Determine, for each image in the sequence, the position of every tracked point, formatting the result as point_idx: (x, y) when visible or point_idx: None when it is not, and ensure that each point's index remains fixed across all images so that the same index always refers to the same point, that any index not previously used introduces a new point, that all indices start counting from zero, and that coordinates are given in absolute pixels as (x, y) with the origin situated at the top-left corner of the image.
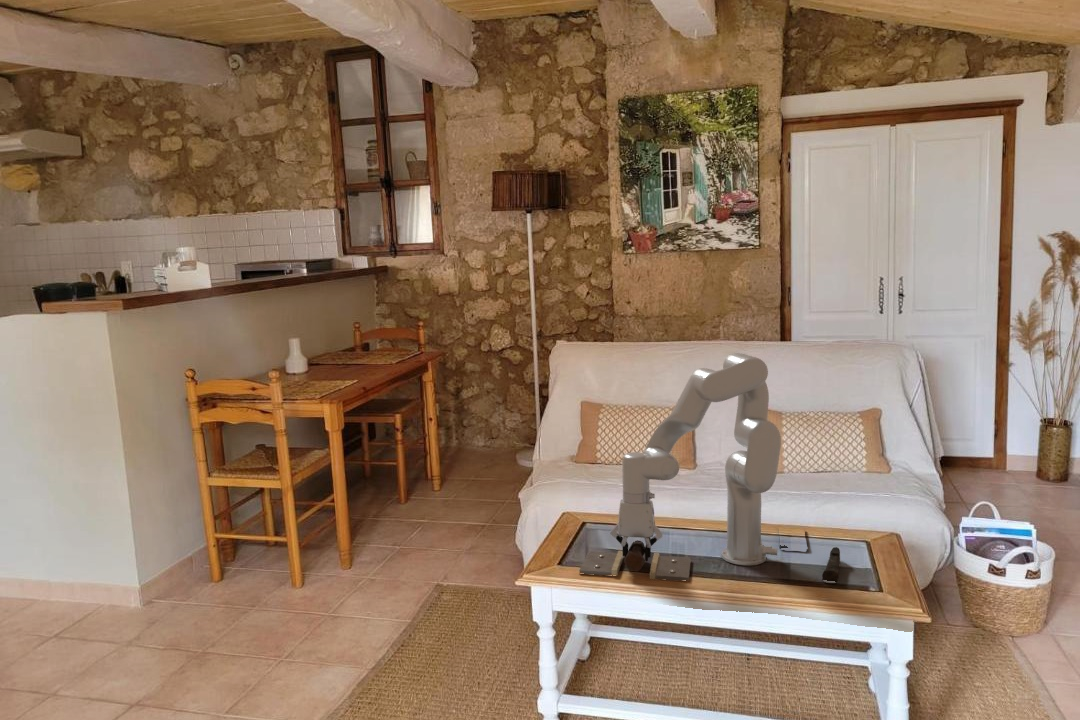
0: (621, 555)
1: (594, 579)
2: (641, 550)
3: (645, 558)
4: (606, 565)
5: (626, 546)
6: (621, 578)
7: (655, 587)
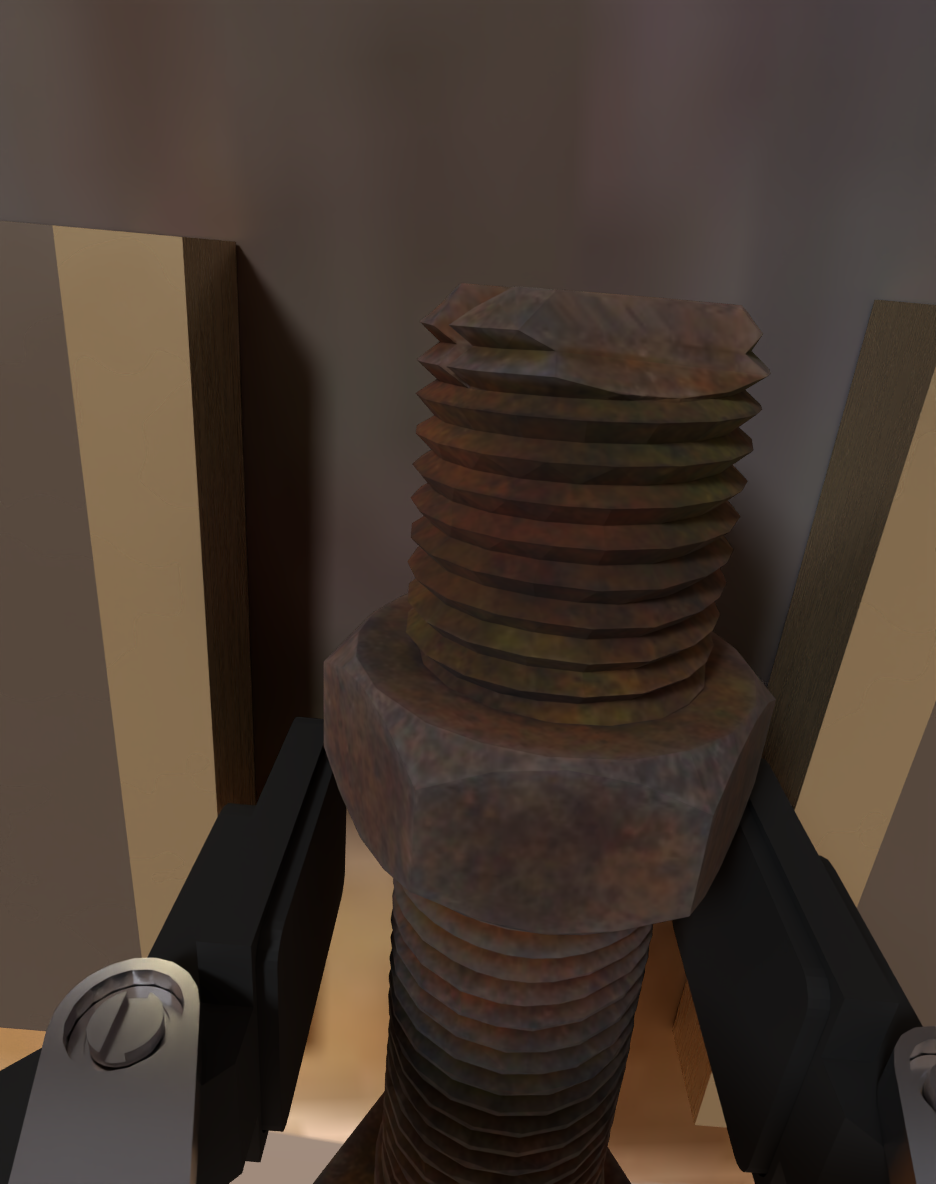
0: (193, 543)
1: (15, 1055)
2: (641, 971)
3: (688, 956)
4: (36, 847)
5: (258, 1138)
6: (324, 1022)
7: (712, 1180)
